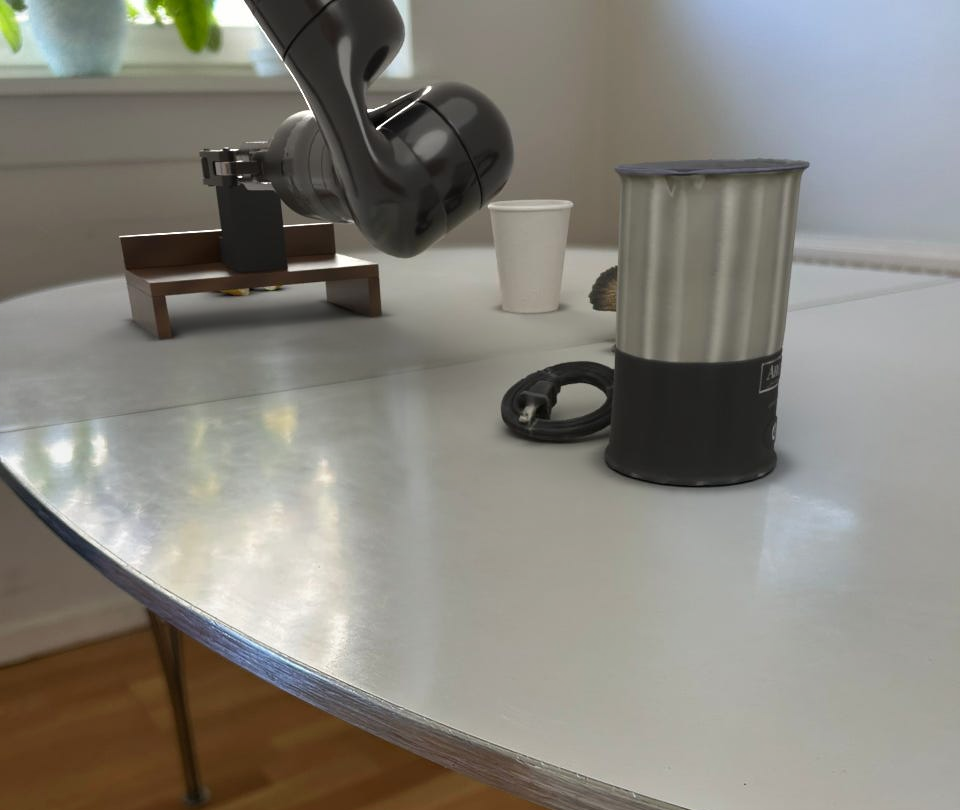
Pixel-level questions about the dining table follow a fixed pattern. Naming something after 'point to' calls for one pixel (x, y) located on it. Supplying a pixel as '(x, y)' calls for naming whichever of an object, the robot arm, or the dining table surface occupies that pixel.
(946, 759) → the dining table surface
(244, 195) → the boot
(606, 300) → the eagle figurine
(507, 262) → the dixie cup
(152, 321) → the wooden bench
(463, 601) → the dining table surface
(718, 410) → the milk frother
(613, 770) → the dining table surface
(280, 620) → the dining table surface
